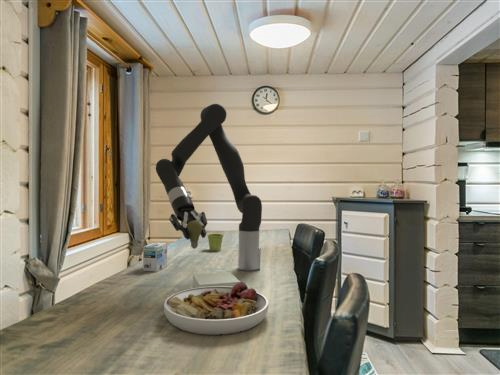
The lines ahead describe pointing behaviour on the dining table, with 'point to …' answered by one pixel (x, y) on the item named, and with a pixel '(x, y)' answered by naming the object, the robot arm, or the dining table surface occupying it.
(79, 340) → the dining table surface
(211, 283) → the block
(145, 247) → the light bulb box
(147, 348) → the dining table surface
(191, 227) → the light bulb
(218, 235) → the plant pot
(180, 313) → the bowl
